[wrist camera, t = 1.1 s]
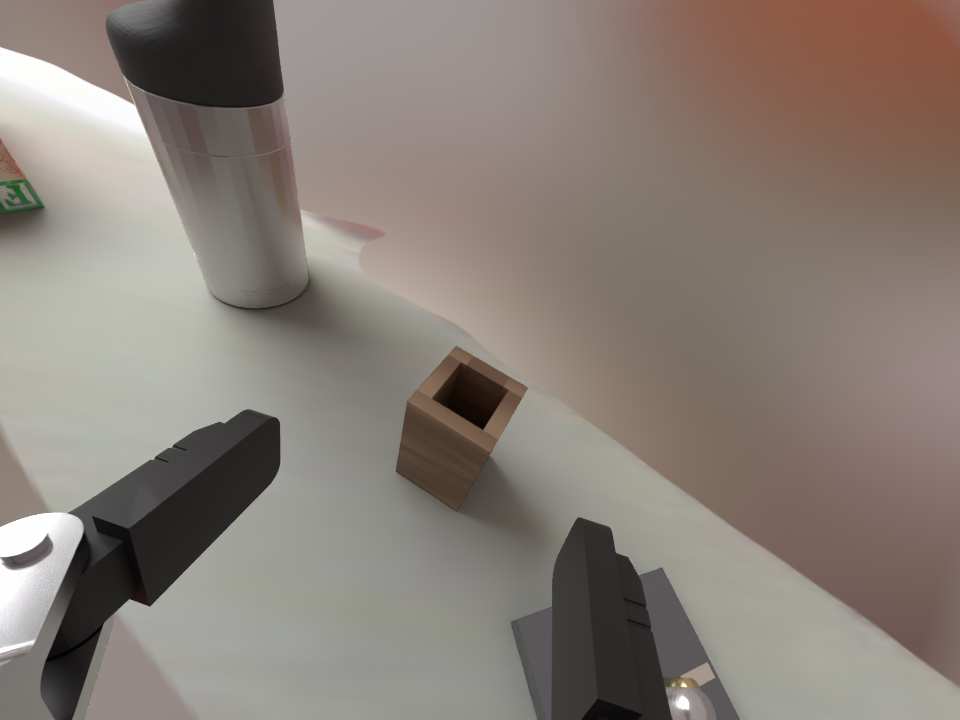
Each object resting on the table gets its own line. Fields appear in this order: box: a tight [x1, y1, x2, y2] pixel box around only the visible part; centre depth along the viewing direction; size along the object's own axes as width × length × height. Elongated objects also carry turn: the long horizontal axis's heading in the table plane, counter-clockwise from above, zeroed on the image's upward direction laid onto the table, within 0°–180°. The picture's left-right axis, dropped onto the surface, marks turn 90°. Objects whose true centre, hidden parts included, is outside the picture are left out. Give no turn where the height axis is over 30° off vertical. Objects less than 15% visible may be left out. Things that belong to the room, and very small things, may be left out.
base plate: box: [511, 568, 740, 720], centre depth 21 cm, size 12×12×6 cm
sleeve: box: [396, 346, 528, 511], centre depth 27 cm, size 6×6×10 cm
